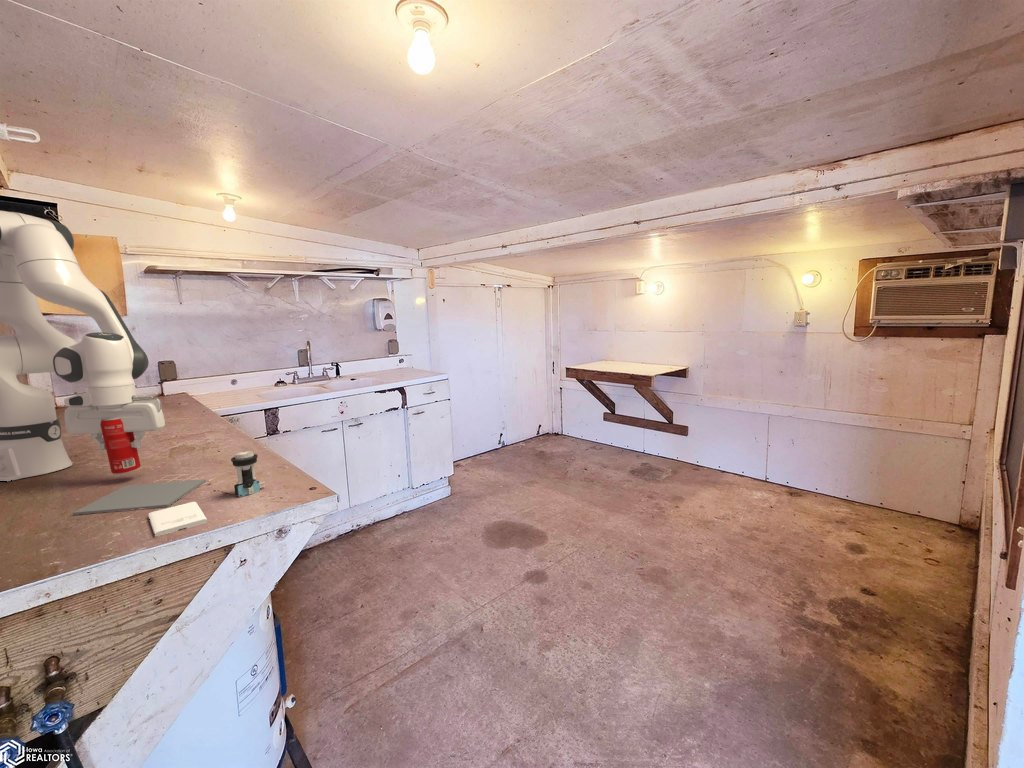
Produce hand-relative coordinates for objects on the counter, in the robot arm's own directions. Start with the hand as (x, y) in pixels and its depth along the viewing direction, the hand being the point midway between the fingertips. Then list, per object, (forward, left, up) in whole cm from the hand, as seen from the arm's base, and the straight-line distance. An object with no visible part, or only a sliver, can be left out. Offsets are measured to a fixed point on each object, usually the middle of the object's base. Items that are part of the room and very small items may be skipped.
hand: (120, 448), depth 108 cm
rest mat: (+13, -13, -9) cm, 20 cm away
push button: (+37, -16, -9) cm, 41 cm away
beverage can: (0, 0, -7) cm, 7 cm away
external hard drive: (+28, -29, -10) cm, 41 cm away
